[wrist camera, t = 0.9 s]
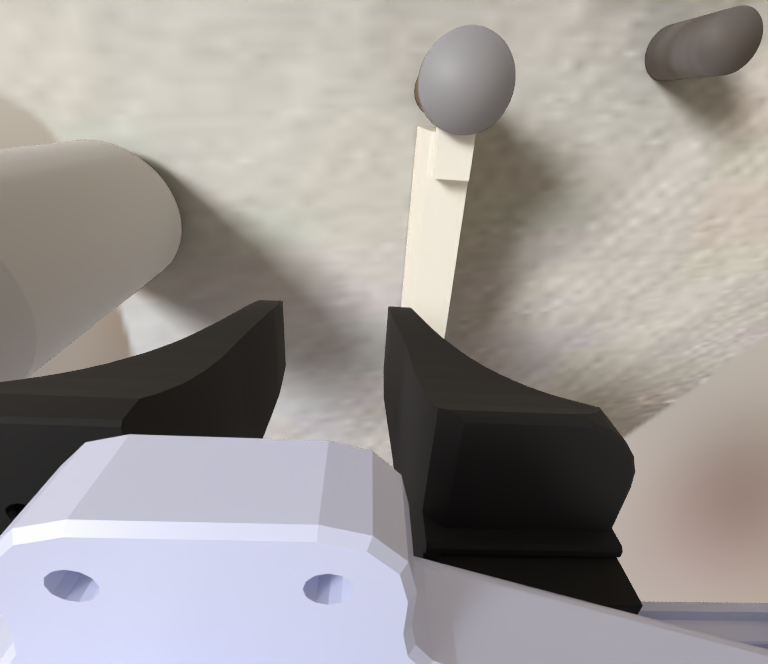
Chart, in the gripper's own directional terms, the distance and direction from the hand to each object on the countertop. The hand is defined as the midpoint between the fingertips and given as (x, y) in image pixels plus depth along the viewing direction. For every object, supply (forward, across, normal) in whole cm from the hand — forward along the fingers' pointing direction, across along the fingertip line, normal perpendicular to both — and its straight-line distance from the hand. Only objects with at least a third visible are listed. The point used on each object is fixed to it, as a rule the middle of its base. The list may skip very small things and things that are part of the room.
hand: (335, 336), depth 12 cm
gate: (+10, -4, -2) cm, 11 cm away
